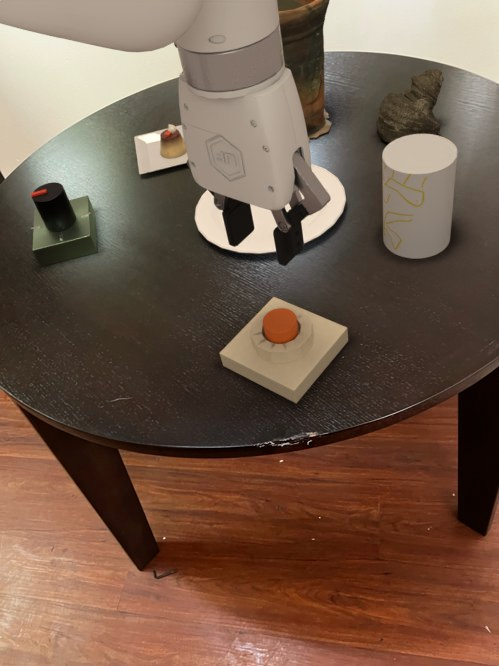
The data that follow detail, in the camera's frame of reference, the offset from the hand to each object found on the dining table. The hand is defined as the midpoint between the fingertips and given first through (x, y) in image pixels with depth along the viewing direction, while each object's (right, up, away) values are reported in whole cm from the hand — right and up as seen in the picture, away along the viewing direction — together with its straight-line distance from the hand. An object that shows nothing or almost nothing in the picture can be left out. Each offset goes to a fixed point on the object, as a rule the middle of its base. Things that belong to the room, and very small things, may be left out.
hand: (266, 245), depth 60 cm
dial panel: (-28, +5, +33) cm, 43 cm away
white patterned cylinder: (+19, +4, +21) cm, 29 cm away
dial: (-28, +7, +30) cm, 42 cm away
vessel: (+6, +26, +45) cm, 52 cm away
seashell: (+21, +22, +38) cm, 48 cm away
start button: (+2, -8, +9) cm, 12 cm away
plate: (+1, +8, +29) cm, 31 cm away
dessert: (-14, +21, +44) cm, 51 cm away
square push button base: (+2, -10, +11) cm, 15 cm away
